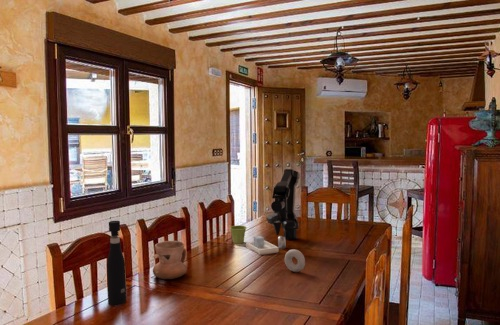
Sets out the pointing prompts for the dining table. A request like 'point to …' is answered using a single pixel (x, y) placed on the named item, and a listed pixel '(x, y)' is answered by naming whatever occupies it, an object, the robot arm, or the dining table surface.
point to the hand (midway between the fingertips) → (281, 237)
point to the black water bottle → (116, 268)
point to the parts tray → (263, 248)
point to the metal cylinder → (281, 242)
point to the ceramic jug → (170, 260)
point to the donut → (300, 260)
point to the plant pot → (238, 234)
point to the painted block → (258, 241)
